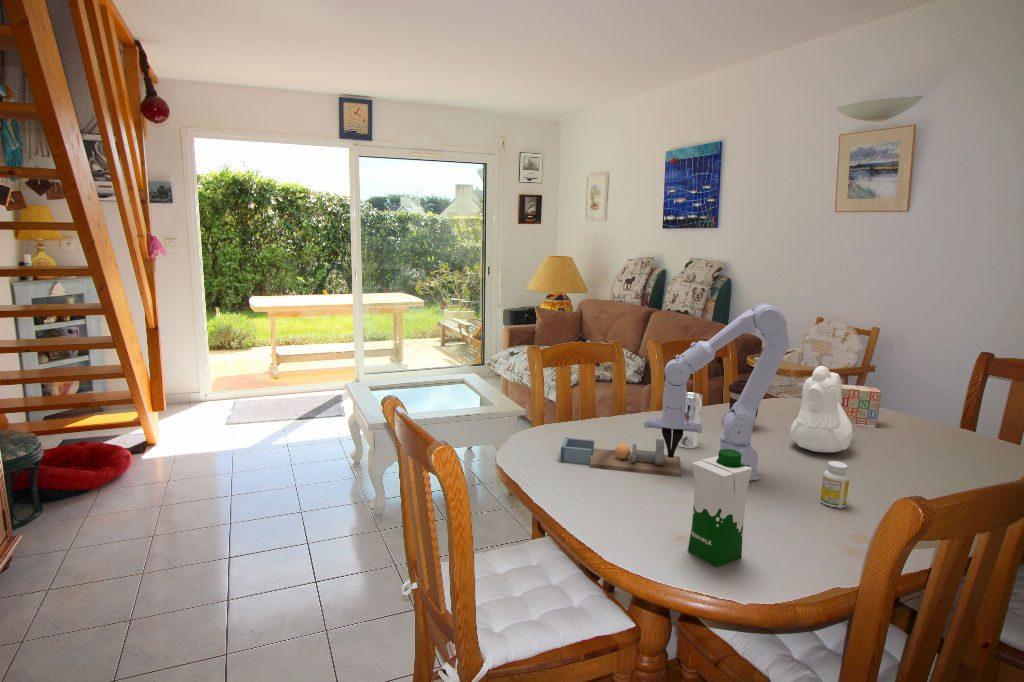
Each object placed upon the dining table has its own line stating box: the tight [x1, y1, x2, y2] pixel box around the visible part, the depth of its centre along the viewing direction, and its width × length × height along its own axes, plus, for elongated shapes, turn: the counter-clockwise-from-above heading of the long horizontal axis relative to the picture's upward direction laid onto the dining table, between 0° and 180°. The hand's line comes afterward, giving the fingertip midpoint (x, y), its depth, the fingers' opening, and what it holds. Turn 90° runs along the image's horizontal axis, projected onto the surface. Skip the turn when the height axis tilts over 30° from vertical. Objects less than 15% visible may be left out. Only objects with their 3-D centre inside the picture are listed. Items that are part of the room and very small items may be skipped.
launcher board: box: [589, 447, 682, 477], centre depth 163 cm, size 23×12×1 cm, turn 77°
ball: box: [615, 443, 631, 459], centre depth 164 cm, size 4×4×4 cm
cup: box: [559, 436, 595, 466], centre depth 167 cm, size 8×8×4 cm
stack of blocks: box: [841, 383, 882, 426], centre depth 204 cm, size 21×6×12 cm, turn 71°
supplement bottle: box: [819, 460, 850, 509], centre depth 140 cm, size 5×5×10 cm
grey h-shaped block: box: [631, 438, 665, 466], centre depth 162 cm, size 8×6×5 cm
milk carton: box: [687, 449, 752, 568], centre depth 116 cm, size 9×9×20 cm
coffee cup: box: [728, 379, 759, 431], centre depth 195 cm, size 10×10×15 cm
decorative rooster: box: [789, 365, 853, 453], centre depth 177 cm, size 25×16×25 cm, turn 127°
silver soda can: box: [677, 391, 704, 449], centre depth 178 cm, size 7×7×15 cm
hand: (670, 456), depth 161 cm, fingers closed
